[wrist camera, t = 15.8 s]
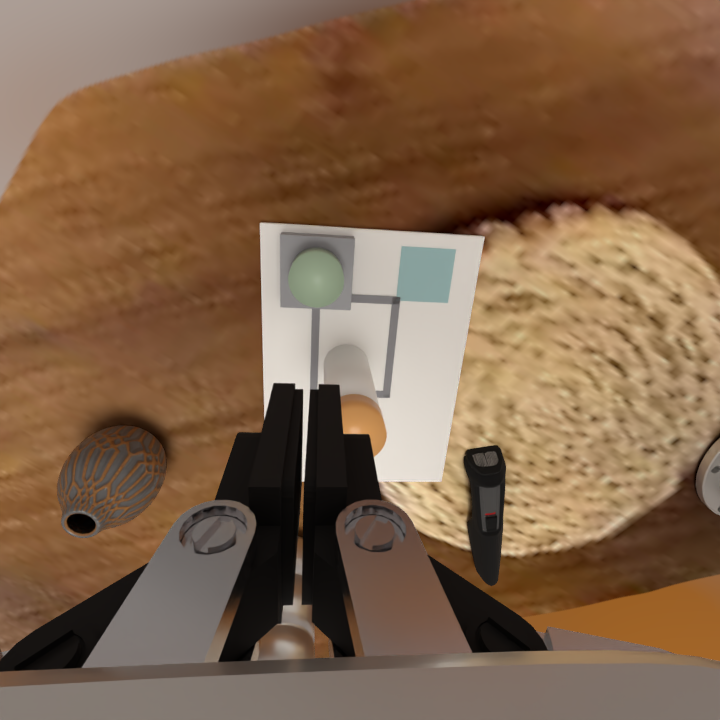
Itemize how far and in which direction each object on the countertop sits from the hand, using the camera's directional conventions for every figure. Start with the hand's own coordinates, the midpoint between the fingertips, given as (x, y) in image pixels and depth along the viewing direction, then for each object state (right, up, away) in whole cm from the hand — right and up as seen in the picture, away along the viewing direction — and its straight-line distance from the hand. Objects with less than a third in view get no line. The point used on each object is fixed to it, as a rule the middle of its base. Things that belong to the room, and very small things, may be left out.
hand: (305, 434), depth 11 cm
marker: (0, +1, +23) cm, 23 cm away
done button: (-2, +8, +18) cm, 20 cm away
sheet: (+2, +1, +24) cm, 24 cm away
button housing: (-2, +8, +20) cm, 22 cm away
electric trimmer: (+14, -12, +31) cm, 36 cm away
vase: (-18, -5, +25) cm, 31 cm away
